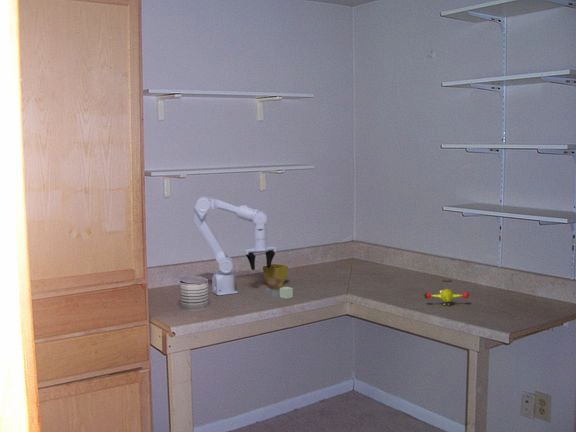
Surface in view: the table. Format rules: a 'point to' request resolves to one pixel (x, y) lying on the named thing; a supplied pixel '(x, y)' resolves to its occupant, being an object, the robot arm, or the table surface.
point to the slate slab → (272, 292)
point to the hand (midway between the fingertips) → (260, 268)
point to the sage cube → (286, 292)
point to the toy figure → (446, 295)
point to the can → (193, 293)
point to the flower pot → (275, 272)
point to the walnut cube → (274, 283)
